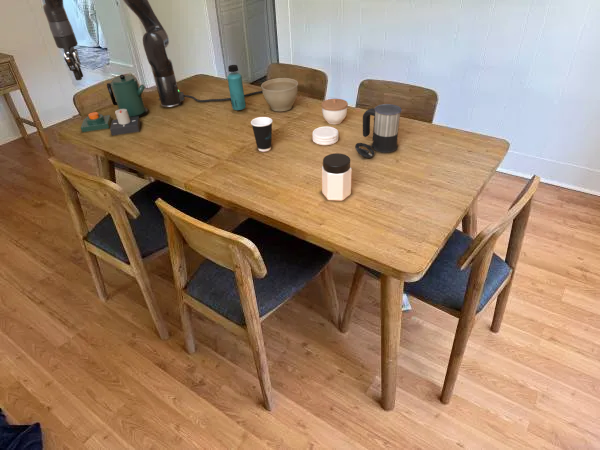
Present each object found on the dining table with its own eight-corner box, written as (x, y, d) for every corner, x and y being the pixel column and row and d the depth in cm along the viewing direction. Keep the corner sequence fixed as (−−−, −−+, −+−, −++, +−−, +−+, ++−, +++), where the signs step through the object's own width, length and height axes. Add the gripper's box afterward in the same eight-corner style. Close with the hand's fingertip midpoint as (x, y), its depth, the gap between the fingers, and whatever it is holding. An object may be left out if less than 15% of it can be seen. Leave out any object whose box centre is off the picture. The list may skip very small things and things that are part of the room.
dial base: (140, 122, 181) (138, 115, 179) (139, 131, 173) (137, 124, 171) (114, 126, 179) (112, 119, 177) (112, 135, 171) (109, 128, 169)
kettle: (158, 109, 192) (148, 70, 181) (145, 120, 182) (133, 79, 171) (123, 108, 195) (111, 69, 184) (109, 119, 185) (94, 79, 174)
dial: (118, 121, 176) (114, 109, 172) (130, 119, 176) (126, 107, 173) (118, 125, 172) (114, 113, 169) (130, 123, 173) (126, 111, 170)
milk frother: (399, 143, 153) (403, 104, 144) (392, 163, 142) (396, 122, 133) (361, 139, 157) (363, 101, 148) (352, 158, 146) (353, 119, 137)
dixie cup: (255, 144, 158) (251, 117, 152) (275, 143, 158) (273, 116, 151) (253, 154, 152) (249, 126, 145) (274, 153, 152) (271, 125, 145)
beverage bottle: (247, 107, 188) (242, 62, 176) (245, 113, 183) (238, 67, 171) (234, 108, 189) (227, 63, 177) (230, 113, 184) (223, 68, 171)
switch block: (111, 119, 185) (108, 111, 183) (109, 128, 177) (106, 119, 175) (86, 123, 183) (82, 114, 181) (82, 132, 176) (79, 123, 173)
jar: (334, 183, 133) (334, 149, 126) (355, 191, 129) (356, 157, 122) (317, 195, 128) (316, 161, 121) (338, 204, 124) (338, 169, 116)
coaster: (342, 136, 160) (342, 127, 158) (332, 147, 153) (332, 138, 151) (318, 132, 164) (318, 124, 162) (308, 143, 157) (308, 134, 155)
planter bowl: (278, 99, 195) (276, 75, 189) (306, 105, 187) (305, 81, 181) (256, 110, 185) (253, 86, 178) (284, 117, 177) (282, 92, 171)
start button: (100, 115, 180) (98, 111, 179) (98, 118, 177) (97, 115, 176) (90, 116, 179) (88, 112, 178) (89, 120, 176) (87, 116, 175)
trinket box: (343, 127, 166) (344, 105, 160) (318, 125, 169) (318, 103, 164) (349, 117, 174) (350, 95, 168) (325, 115, 177) (325, 93, 171)
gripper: (56, 30, 162) (73, 74, 173) (48, 38, 151) (67, 85, 162) (76, 28, 163) (92, 72, 174) (70, 36, 153) (87, 82, 163)
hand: (79, 78), depth 168 cm, fingers open, 3 cm apart
